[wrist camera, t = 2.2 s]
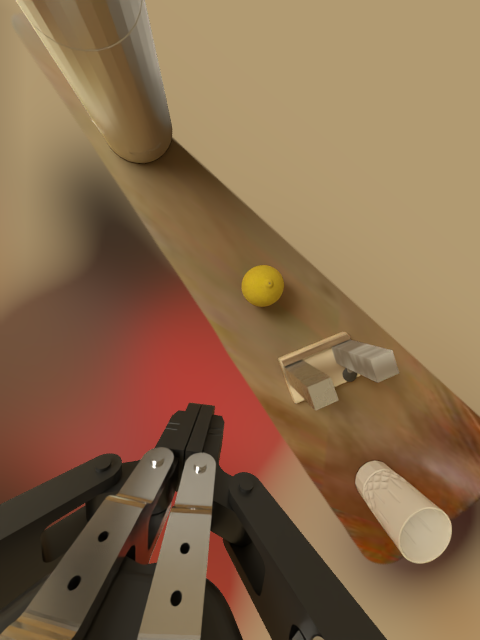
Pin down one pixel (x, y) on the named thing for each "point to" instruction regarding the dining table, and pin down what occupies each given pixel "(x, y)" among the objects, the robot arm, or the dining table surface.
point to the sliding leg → (311, 384)
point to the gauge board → (319, 364)
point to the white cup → (404, 513)
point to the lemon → (262, 285)
